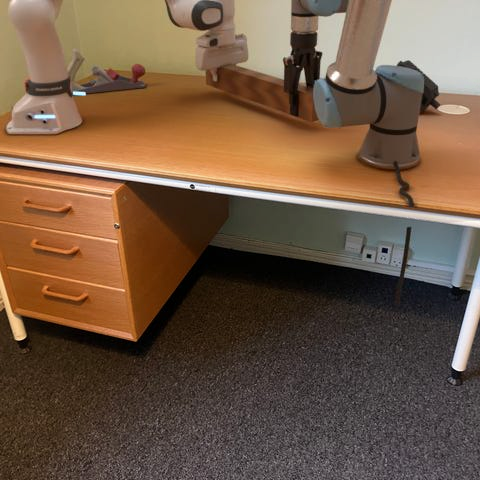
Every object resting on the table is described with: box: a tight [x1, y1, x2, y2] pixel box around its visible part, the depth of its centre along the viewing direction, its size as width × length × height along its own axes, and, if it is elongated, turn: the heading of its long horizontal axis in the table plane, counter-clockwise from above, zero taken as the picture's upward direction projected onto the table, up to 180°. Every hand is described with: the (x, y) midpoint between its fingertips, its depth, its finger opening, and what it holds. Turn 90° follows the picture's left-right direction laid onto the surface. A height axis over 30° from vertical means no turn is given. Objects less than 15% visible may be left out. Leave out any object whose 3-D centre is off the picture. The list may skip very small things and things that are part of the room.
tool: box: [396, 59, 442, 114], centre depth 170 cm, size 6×19×15 cm, turn 51°
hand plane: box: [67, 48, 146, 94], centre depth 194 cm, size 7×31×15 cm, turn 107°
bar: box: [205, 64, 319, 123], centre depth 171 cm, size 53×5×8 cm, turn 39°
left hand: (223, 79), depth 184 cm, fingers closed on bar, 5 cm apart
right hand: (300, 113), depth 160 cm, fingers closed on bar, 5 cm apart
